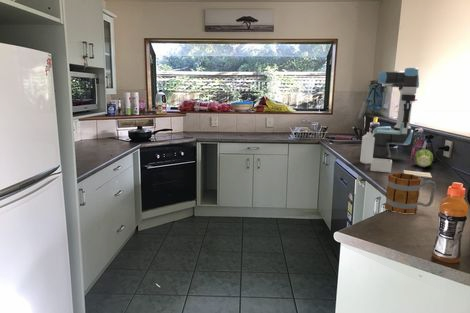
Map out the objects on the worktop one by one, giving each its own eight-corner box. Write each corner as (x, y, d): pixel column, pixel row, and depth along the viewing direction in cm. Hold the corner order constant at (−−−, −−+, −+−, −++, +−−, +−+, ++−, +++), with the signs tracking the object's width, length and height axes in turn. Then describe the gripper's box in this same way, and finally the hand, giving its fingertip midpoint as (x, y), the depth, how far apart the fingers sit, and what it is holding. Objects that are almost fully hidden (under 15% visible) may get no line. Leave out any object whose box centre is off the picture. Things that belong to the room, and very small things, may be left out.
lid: (377, 130, 225) (378, 121, 224) (406, 132, 219) (407, 123, 218) (376, 132, 216) (377, 123, 214) (407, 135, 209) (408, 125, 208)
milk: (367, 162, 248) (370, 131, 244) (372, 164, 242) (375, 133, 238) (359, 162, 247) (362, 131, 243) (364, 164, 241) (367, 133, 237)
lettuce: (412, 168, 231) (414, 152, 229) (413, 163, 249) (415, 147, 247) (432, 171, 226) (434, 154, 224) (431, 165, 244) (434, 149, 242)
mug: (388, 213, 148) (392, 179, 145) (381, 203, 161) (384, 171, 158) (438, 217, 145) (443, 182, 142) (427, 206, 158) (431, 174, 155)
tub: (370, 168, 230) (372, 157, 229) (390, 170, 226) (391, 159, 224) (370, 171, 221) (371, 160, 220) (390, 173, 217) (391, 162, 215)
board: (403, 171, 224) (403, 170, 224) (429, 174, 218) (430, 172, 218) (404, 175, 214) (404, 173, 214) (431, 178, 208) (431, 176, 208)
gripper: (401, 93, 219) (397, 130, 224) (402, 94, 203) (397, 133, 208) (414, 94, 216) (410, 131, 221) (416, 94, 200) (411, 134, 205)
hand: (404, 132), depth 214 cm, fingers closed on lid, 4 cm apart
